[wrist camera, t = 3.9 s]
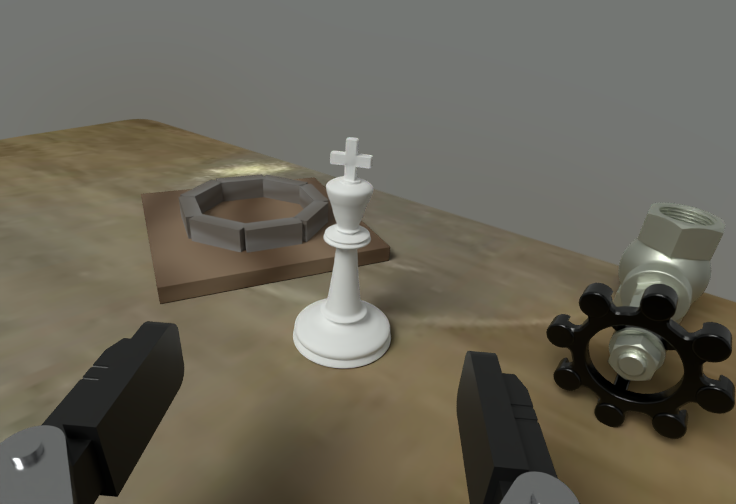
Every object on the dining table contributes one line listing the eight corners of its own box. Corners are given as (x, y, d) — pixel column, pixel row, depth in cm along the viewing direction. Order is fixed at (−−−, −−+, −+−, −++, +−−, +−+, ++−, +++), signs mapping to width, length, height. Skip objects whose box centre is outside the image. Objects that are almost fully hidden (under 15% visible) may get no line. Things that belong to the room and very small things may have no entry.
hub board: (314, 188, 41) (314, 161, 40) (388, 260, 30) (392, 226, 29) (143, 206, 35) (137, 175, 34) (160, 303, 24) (152, 263, 23)
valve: (590, 284, 30) (527, 388, 21) (624, 188, 27) (567, 263, 18) (710, 326, 26) (695, 470, 18) (764, 222, 23) (779, 334, 15)
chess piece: (382, 377, 21) (405, 163, 16) (278, 358, 21) (272, 147, 17) (396, 315, 25) (418, 132, 20) (309, 300, 26) (311, 120, 21)
